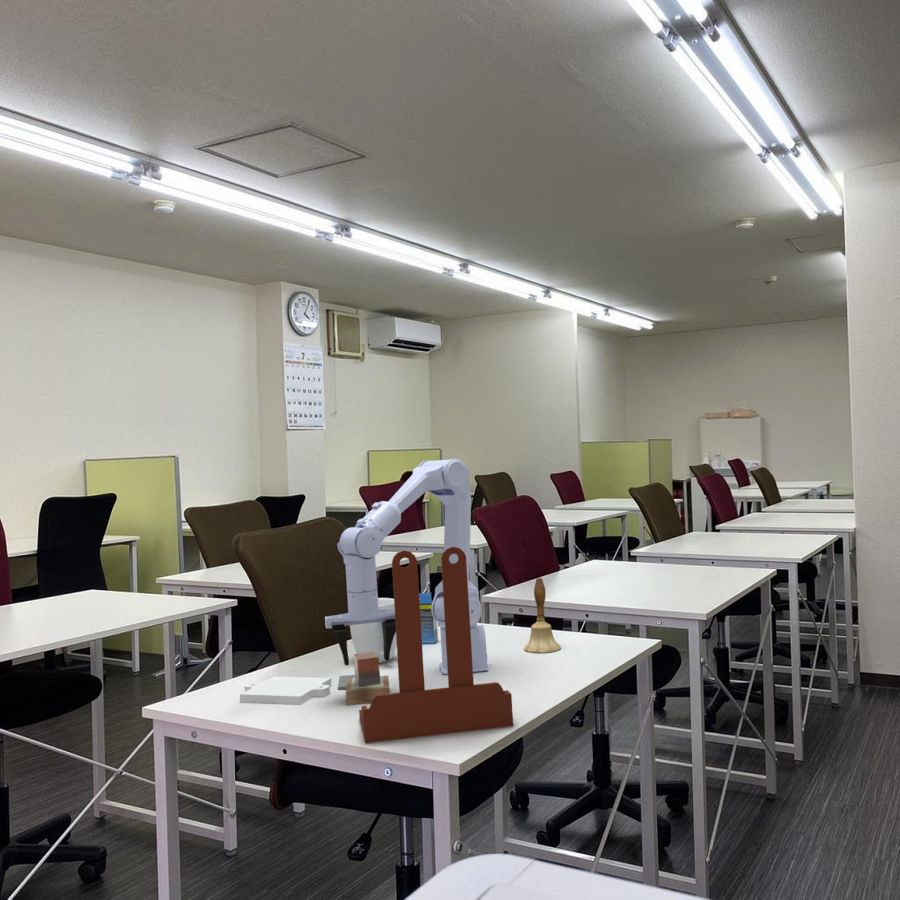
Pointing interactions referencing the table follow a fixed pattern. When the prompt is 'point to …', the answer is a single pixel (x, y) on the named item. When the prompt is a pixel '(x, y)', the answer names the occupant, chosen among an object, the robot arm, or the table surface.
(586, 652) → the table surface
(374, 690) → the stand
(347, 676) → the mat
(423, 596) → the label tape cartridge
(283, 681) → the mounting plate
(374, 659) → the block
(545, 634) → the hand bell
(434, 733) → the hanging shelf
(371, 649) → the mug
